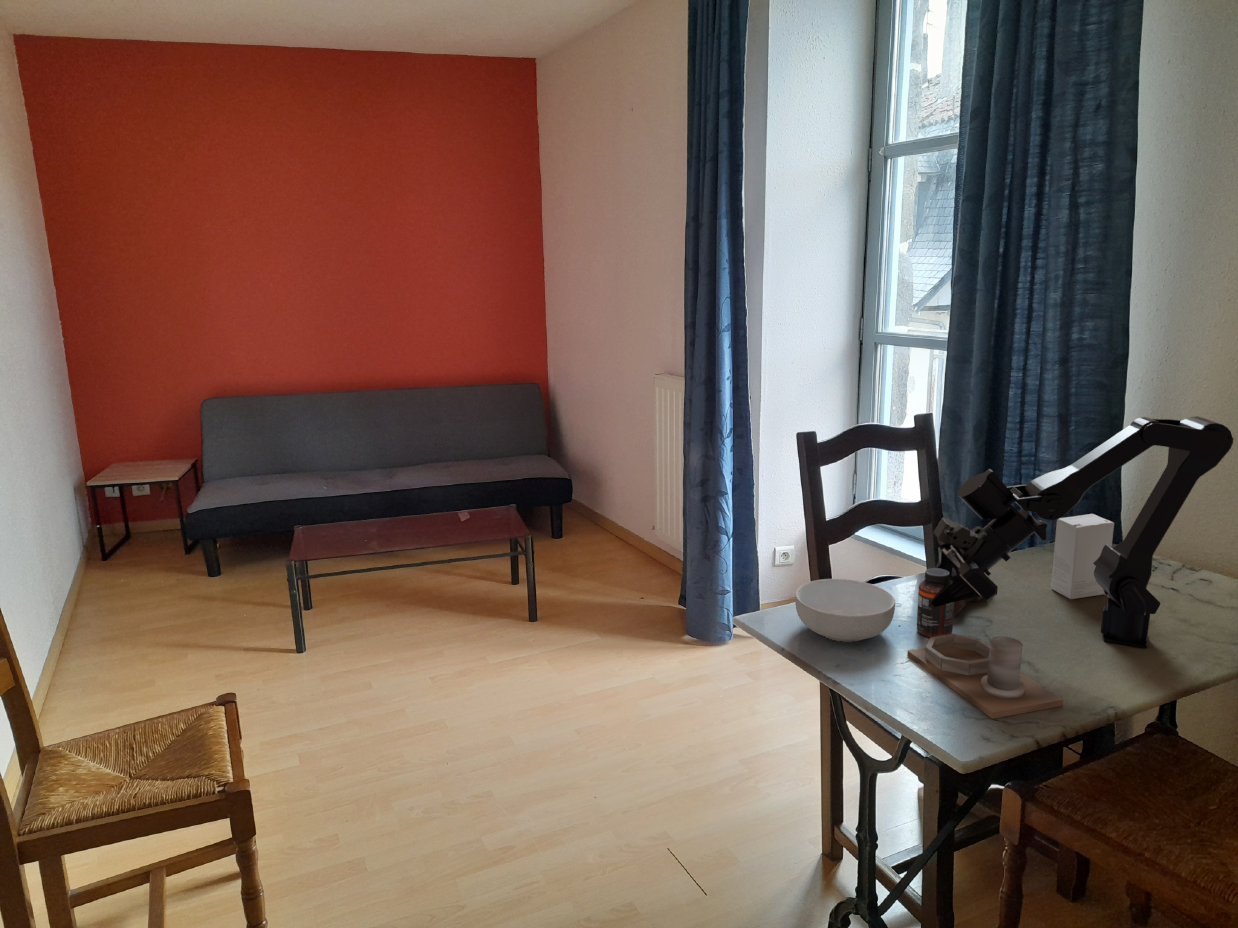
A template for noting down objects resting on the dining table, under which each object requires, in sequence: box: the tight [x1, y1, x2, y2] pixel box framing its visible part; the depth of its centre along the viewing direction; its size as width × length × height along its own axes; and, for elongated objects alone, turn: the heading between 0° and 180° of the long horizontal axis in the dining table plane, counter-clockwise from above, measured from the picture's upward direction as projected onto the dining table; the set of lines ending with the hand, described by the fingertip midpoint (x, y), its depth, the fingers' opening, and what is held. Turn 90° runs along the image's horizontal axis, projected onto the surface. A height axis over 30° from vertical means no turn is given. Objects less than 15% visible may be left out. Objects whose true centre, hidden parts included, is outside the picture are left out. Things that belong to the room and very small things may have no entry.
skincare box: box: [1050, 513, 1115, 600], centre depth 167 cm, size 8×6×15 cm
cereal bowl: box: [794, 578, 896, 643], centre depth 153 cm, size 17×17×7 cm
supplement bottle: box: [916, 567, 954, 639], centre depth 152 cm, size 6×6×11 cm
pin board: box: [906, 633, 1064, 720], centre depth 135 cm, size 21×12×8 cm, turn 15°
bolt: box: [953, 593, 984, 617], centre depth 165 cm, size 6×5×15 cm
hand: (928, 597), depth 152 cm, fingers open, 6 cm apart
